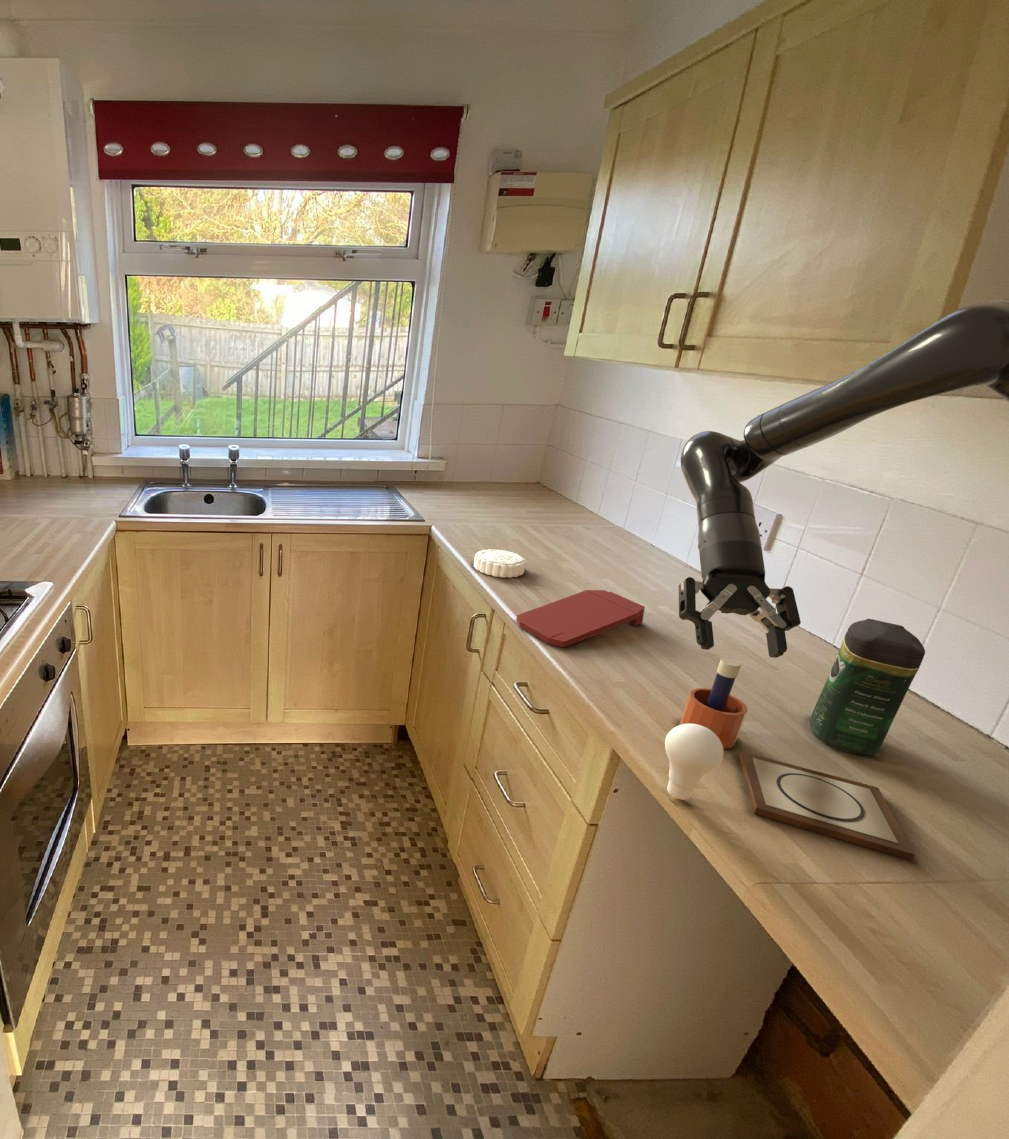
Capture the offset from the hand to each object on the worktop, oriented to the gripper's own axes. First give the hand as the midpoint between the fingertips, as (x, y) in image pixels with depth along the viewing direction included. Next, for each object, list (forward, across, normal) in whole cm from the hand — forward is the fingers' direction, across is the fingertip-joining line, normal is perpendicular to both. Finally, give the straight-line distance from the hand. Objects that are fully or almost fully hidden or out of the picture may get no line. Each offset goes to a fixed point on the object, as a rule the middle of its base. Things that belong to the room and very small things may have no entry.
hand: (742, 652), depth 88 cm
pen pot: (+10, 0, +12) cm, 15 cm away
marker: (+9, 0, +11) cm, 15 cm away
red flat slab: (-15, -10, +36) cm, 41 cm away
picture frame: (+19, +8, +3) cm, 21 cm away
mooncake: (-35, -23, +56) cm, 71 cm away
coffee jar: (+7, +20, +15) cm, 26 cm away
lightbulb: (+22, -10, 0) cm, 24 cm away
